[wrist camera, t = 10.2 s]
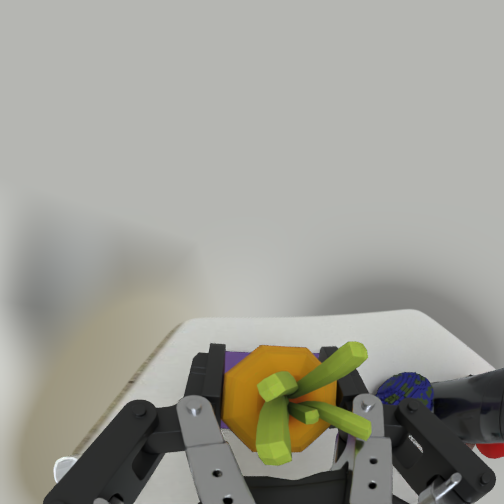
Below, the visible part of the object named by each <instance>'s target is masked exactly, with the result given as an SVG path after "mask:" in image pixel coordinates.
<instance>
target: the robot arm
mask: <svg viewBox="0 0 504 504" xmlns="http://www.w3.org/2000/svg"><path fill="white" fill-rule="evenodd" d="M337 350H338V348H337V347H336V346H332V347H321V349H320V353H319V357H318V360H319V361H320V362H321V363H322V362H324V361H325V360H326V359H327V358H329V357H330V356H331V355H332V354H333V353H334V352H336V351H337ZM225 351H226V344H214V343H211V344H210V348H209V353H198V354H197V355H196V356H195V357H194V358H193V361H192V365H191V369H190V374H189V377H188V381H187V385H186V390H185V394H184V397H183V398H182V399H180V400H179V402H178V403H177V404H176V405H173V406H170V407H162V408H156V407H155V406H154V405H153V404H152V403H151V402H149V401H146V400H134V401H131V402H129V403H127V404H126V405H125V406H124V407H123V409H122V410H121V411H120V412H119V413H118V414H117V415H116V417H115V418H114V419H113V420H112V421H111V422H110V424H109V425H108V426H107V427H106V428H105V429H104V430H103V432H102V433H101V434H100V435H99V436H98V437H97V439H96V440H95V441H94V442H93V443H92V444H91V445H90V447H89V448H88V449H87V450H86V451H85V452H84V453H83V455H82V456H81V457H80V458H79V459H78V460H77V461H76V463H75V464H74V465H73V466H72V467H71V468H70V469H69V471H68V472H67V473H66V474H65V475H64V476H63V477H62V479H61V480H60V481H59V482H58V483H57V484H56V485H55V486H54V488H53V489H52V490H51V491H50V492H49V493H48V494H47V496H46V497H45V499H44V501H43V504H133V503H134V502H135V500H136V499H137V497H138V496H139V494H140V492H141V491H142V489H143V488H144V486H145V485H146V483H147V482H148V480H149V478H150V477H151V475H152V474H153V472H154V471H155V469H156V467H157V466H158V464H159V463H160V461H161V459H162V458H163V456H164V455H165V453H168V452H178V451H185V452H186V456H187V460H188V463H189V467H190V471H191V474H192V477H193V481H194V485H195V488H196V491H197V494H198V497H199V500H200V502H199V503H198V504H409V503H407V502H406V501H404V500H402V499H400V498H398V497H397V496H395V495H393V494H392V464H393V466H394V467H395V468H396V469H397V471H398V472H399V473H400V474H401V475H402V477H403V478H404V479H405V480H406V481H407V483H408V484H409V485H410V486H411V488H412V489H413V490H414V491H415V492H416V494H417V495H418V496H419V498H418V504H474V503H475V502H476V501H478V500H479V499H480V498H482V497H483V496H484V495H485V494H487V493H488V492H489V491H490V490H492V488H493V487H494V485H495V482H496V477H495V473H494V472H493V471H492V470H491V469H490V468H489V467H488V466H487V465H486V464H485V463H484V462H483V461H482V460H481V459H480V458H479V457H478V456H477V455H476V454H475V453H474V452H473V451H472V450H471V449H470V448H469V447H468V446H467V445H466V444H465V443H475V444H496V443H504V368H501V369H498V370H494V371H490V372H487V373H483V374H478V375H471V374H470V375H469V377H465V378H460V379H455V380H449V381H444V382H434V383H430V384H431V385H432V387H433V388H434V389H433V393H434V394H433V395H434V399H433V402H434V406H433V410H432V411H431V410H430V409H428V408H427V407H426V406H425V405H424V404H423V403H422V402H421V401H420V400H418V399H416V398H412V397H408V398H404V399H402V400H401V401H400V403H399V405H389V404H382V402H381V400H380V399H379V398H378V397H376V396H375V395H372V394H369V393H368V391H367V389H366V387H365V385H364V383H363V381H362V379H361V377H360V375H359V373H358V371H357V370H356V369H355V370H353V371H352V372H350V373H349V374H347V375H346V376H344V377H342V378H340V379H338V380H337V389H336V406H337V407H339V408H342V409H344V410H347V411H350V412H352V413H354V414H357V415H359V416H361V417H363V418H365V419H367V420H369V421H371V429H372V433H371V435H370V436H369V438H368V439H367V441H365V440H362V439H360V438H357V437H355V436H353V435H351V434H348V433H346V432H344V431H342V430H341V429H339V428H338V434H337V436H336V441H335V449H334V456H333V462H332V468H331V471H326V472H320V473H317V474H314V475H312V476H308V477H305V478H302V479H299V480H287V479H280V478H274V477H268V476H243V475H242V473H241V470H240V468H239V466H238V464H237V461H236V459H235V457H234V454H233V452H232V449H231V447H230V445H229V443H228V442H227V441H225V440H224V438H223V435H222V433H221V419H220V417H221V402H222V392H223V381H224V374H225ZM330 428H337V427H335V426H333V425H330V426H329V429H330ZM409 435H411V436H412V437H413V438H414V439H415V440H416V441H417V442H418V443H419V444H420V445H421V447H422V449H423V453H422V452H421V451H420V450H419V449H418V448H417V447H416V446H415V444H414V443H413V442H412V441H411V440H410V439H409V438H408V437H409Z"/></svg>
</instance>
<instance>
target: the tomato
mask: <svg viewBox="0 0 504 504" xmlns="http://www.w3.org/2000/svg"><path fill="white" fill-rule="evenodd" d="M476 446H477V448H478V449H479V451H480V452H481V453H482V454H483V455H485V456H486V457H488V458H494V459H496V458H500V457H504V443H496V444H476Z"/></svg>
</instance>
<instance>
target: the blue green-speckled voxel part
mask: <svg viewBox="0 0 504 504" xmlns="http://www.w3.org/2000/svg"><path fill="white" fill-rule="evenodd" d="M433 389H434V388H433V387H432V385H431V384H430V382H429V381H428V379H426V377H423V376H421V375H420V374H416V372H414V373H413V372H411V373H410V372H404V373H399V374H398V375H394V376H393V377H391V378H390V379H388V380H387V381H386V382H385V383H384V384H383V385H382V386H381V387H380V388H379V390H378V392H377V394H376V397H378V398H379V399H380V400H381V402H382V404H389V405H399V403H400V401H401V400H402V399H404V398H408V397H412V398H416V399H418V400H420V401H421V402H422V403H423V404H424V405H425V406H426V407H427V408H428V409H430V410H431V411H432V410H433V406H434V402H433V399H434V395H433V394H434V393H433Z"/></svg>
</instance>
